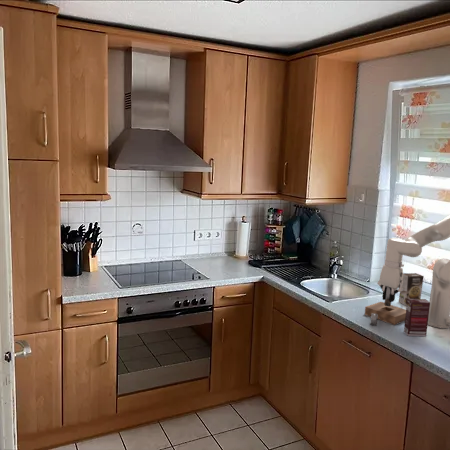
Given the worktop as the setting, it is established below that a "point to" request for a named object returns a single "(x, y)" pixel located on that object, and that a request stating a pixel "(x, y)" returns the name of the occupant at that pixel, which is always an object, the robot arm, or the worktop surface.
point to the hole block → (386, 313)
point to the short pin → (374, 319)
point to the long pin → (387, 296)
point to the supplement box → (416, 317)
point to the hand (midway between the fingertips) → (388, 300)
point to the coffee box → (411, 287)
